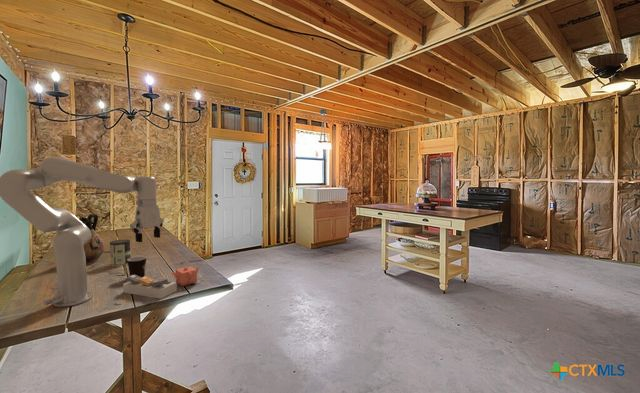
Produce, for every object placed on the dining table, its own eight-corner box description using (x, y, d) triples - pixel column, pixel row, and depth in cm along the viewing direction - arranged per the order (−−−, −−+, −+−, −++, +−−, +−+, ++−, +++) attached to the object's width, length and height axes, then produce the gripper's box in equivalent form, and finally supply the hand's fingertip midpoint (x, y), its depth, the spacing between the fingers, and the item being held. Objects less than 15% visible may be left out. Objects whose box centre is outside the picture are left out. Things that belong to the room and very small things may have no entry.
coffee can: (126, 260, 180) (125, 238, 179) (134, 263, 174) (133, 240, 173) (107, 264, 171) (106, 241, 170) (115, 267, 166) (114, 244, 165)
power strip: (161, 298, 124) (160, 288, 124) (115, 291, 132) (114, 281, 131) (176, 290, 133) (176, 281, 132) (132, 284, 140) (132, 275, 140)
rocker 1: (136, 284, 129) (136, 281, 129) (126, 280, 131) (126, 276, 130) (143, 281, 133) (144, 278, 133) (134, 277, 134) (134, 273, 134)
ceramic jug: (91, 265, 169) (89, 216, 166) (66, 265, 169) (63, 216, 167) (112, 257, 186) (110, 212, 183) (89, 257, 186) (87, 212, 184)
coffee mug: (137, 280, 145) (136, 261, 145) (123, 279, 147) (122, 260, 146) (155, 273, 157) (154, 255, 156) (141, 271, 158) (141, 254, 158)
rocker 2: (148, 286, 127) (148, 282, 127) (137, 281, 129) (138, 278, 128) (155, 282, 131) (156, 279, 131) (145, 278, 132) (146, 275, 132)
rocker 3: (160, 285, 125) (160, 281, 125) (150, 286, 127) (149, 282, 127) (168, 281, 129) (167, 278, 129) (157, 283, 130) (157, 279, 130)
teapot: (166, 284, 141) (165, 267, 140) (196, 276, 152) (196, 261, 151) (175, 290, 133) (174, 273, 132) (206, 282, 144) (205, 266, 143)
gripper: (136, 205, 120) (138, 244, 122) (168, 201, 137) (169, 236, 138) (123, 204, 122) (124, 243, 124) (156, 201, 139) (157, 235, 140)
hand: (148, 239), depth 131 cm, fingers open, 9 cm apart
